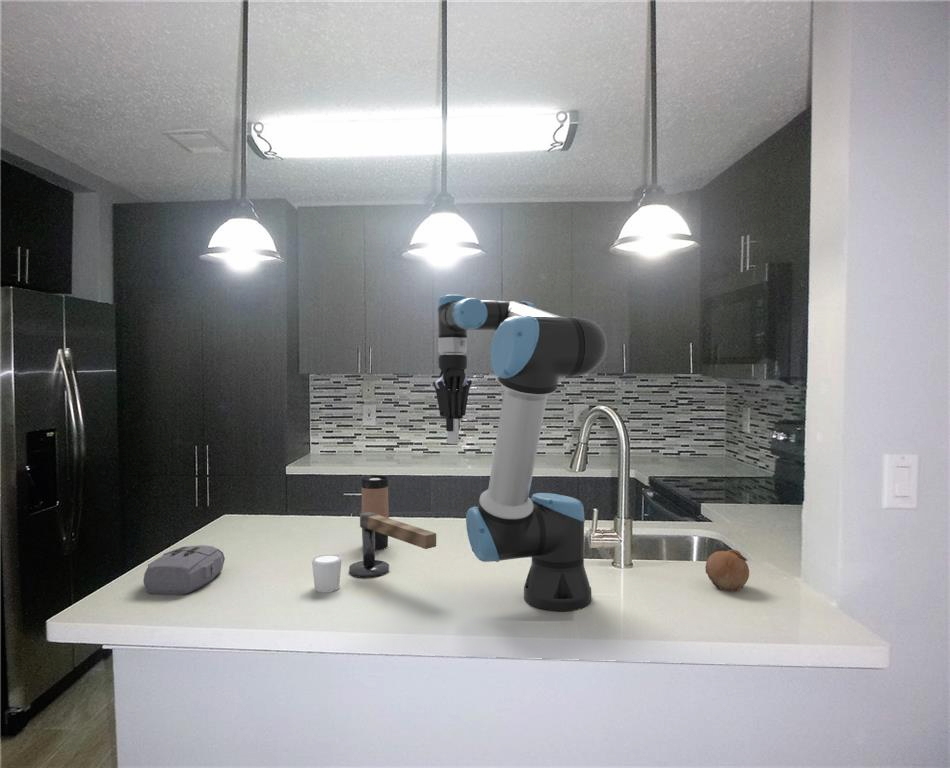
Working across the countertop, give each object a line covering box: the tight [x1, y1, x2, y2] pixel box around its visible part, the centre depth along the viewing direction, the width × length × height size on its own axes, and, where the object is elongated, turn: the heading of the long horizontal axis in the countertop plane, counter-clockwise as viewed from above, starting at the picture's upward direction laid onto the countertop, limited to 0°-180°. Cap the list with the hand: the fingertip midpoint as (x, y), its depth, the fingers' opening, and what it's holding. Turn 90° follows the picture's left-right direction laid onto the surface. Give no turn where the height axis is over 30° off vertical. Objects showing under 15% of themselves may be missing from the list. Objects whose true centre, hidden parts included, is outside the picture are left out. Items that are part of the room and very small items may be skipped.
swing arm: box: [359, 512, 437, 550], centre depth 149 cm, size 27×4×3 cm, turn 43°
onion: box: [705, 549, 750, 592], centre depth 145 cm, size 10×9×10 cm
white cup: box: [311, 554, 342, 593], centre depth 146 cm, size 7×7×7 cm
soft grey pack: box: [143, 544, 225, 596], centre depth 150 cm, size 15×8×20 cm
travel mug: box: [361, 474, 390, 551], centre depth 177 cm, size 8×8×20 cm
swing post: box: [348, 528, 390, 579], centre depth 157 cm, size 10×10×11 cm
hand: (453, 443), depth 164 cm, fingers closed
